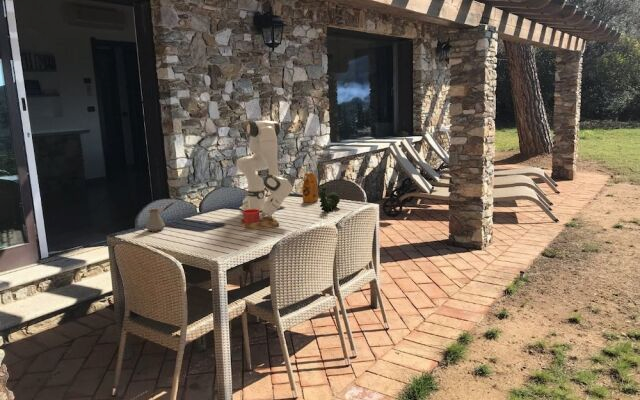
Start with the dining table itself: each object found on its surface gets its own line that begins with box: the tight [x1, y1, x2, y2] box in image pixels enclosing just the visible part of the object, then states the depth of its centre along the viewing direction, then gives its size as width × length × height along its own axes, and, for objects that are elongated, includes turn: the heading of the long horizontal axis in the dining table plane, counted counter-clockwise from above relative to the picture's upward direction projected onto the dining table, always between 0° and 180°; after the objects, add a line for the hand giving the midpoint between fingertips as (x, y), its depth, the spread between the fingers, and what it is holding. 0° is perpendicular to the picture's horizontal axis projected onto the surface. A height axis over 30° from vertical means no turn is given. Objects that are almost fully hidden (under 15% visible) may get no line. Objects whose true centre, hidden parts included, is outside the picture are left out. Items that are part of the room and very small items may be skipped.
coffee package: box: [301, 171, 319, 204], centre depth 378 cm, size 10×12×22 cm
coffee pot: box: [145, 202, 174, 232], centre depth 315 cm, size 21×12×15 cm, turn 144°
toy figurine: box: [318, 186, 341, 212], centre depth 347 cm, size 9×19×25 cm
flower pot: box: [242, 209, 261, 224], centre depth 311 cm, size 11×11×10 cm
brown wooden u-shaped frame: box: [240, 215, 280, 231], centre depth 313 cm, size 22×17×4 cm
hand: (259, 218), depth 312 cm, fingers closed
